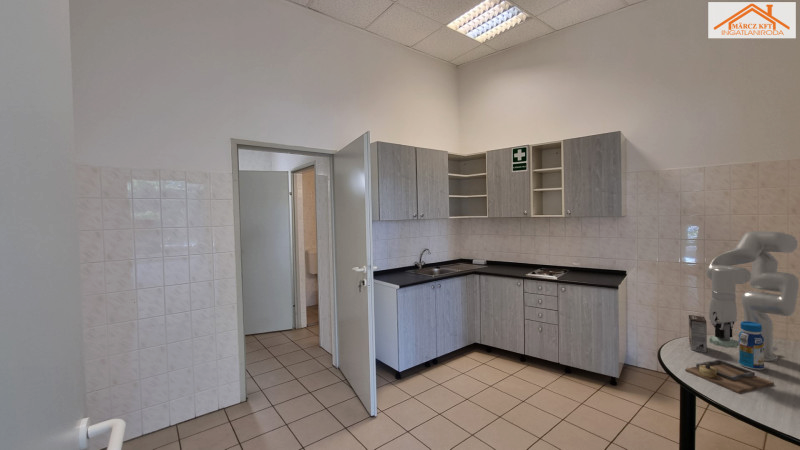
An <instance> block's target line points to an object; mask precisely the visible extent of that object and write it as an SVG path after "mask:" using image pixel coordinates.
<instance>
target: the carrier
mask: <svg viewBox="0 0 800 450" xmlns="http://www.w3.org/2000/svg"><path fill="white" fill-rule="evenodd" d="M695 364H696V366H692V367H687V368H685V372H687V373H689V374H692V375H694V376H696V377H698V378H701V379H704V380H706V381H709V382H711V383H713V384H716V385H718V386H720V387H722V388H725V389H727V390H729V391H732V392H735V393H736V394H741V393H745V391H746V392H751V391H755V390H757V389H763V388H766V387H772V386H774V385H775V382H774V381H771V380H768V379H765V378H763V377H759V376H757V375H756V374H755V373H756V372H755V371H751V370H750V369H747V368H745V367H744V368H743V367H742V366H738V365H736V364H732V363H730V362H726V361H725V360H721V359H714V360H713V359H712V360H709V361H708V360H707V361H704V362H699V363H695Z"/></svg>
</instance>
